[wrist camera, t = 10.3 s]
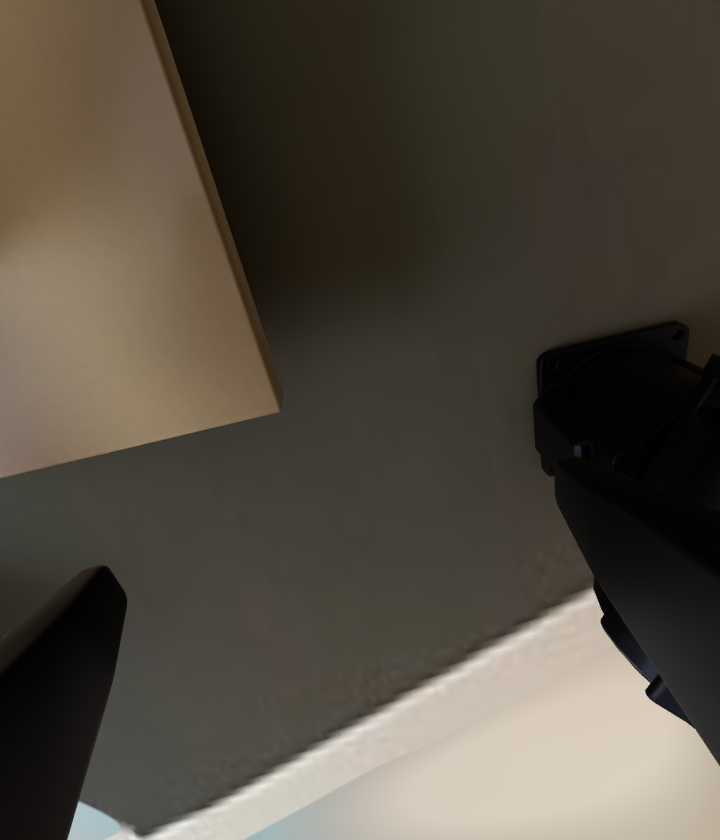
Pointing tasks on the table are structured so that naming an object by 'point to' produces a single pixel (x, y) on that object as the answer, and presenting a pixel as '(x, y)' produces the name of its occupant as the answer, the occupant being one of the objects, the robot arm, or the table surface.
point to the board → (112, 245)
